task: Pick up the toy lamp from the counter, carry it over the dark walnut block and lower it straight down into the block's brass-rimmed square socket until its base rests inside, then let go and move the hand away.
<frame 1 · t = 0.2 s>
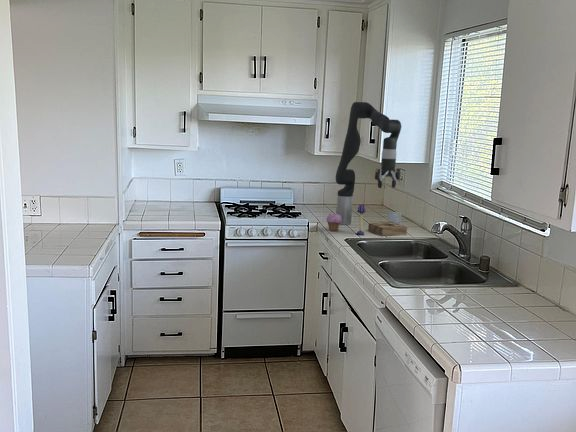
hand: (386, 187, 313), 28 cm above the worktop, tool pointing down, fingers open, 8 cm apart
socket block: (387, 232, 336), on the worktop
cupcake: (333, 230, 337), on the worktop
medicine box: (393, 227, 354), on the worktop
toy lamp: (360, 234, 329), on the worktop
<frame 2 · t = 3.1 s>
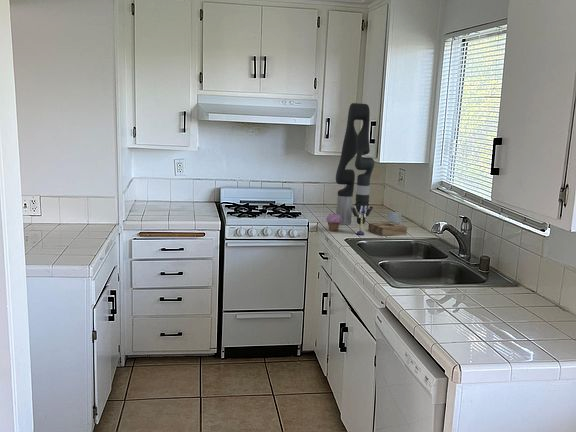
hand: (360, 223, 328), 6 cm above the worktop, tool pointing down, fingers closed on toy lamp
toy lamp: (360, 234, 329), on the worktop, touching gripper
everything else where it was.
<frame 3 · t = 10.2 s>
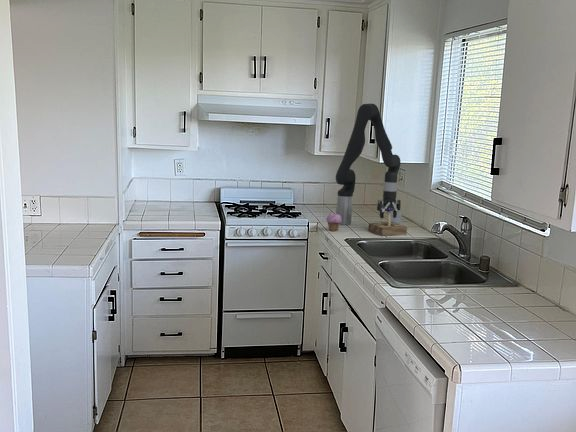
hand: (388, 217, 335), 9 cm above the worktop, tool pointing down, fingers open, 8 cm apart
toy lamp: (388, 232, 337), resting in socket block
everything else where it was.
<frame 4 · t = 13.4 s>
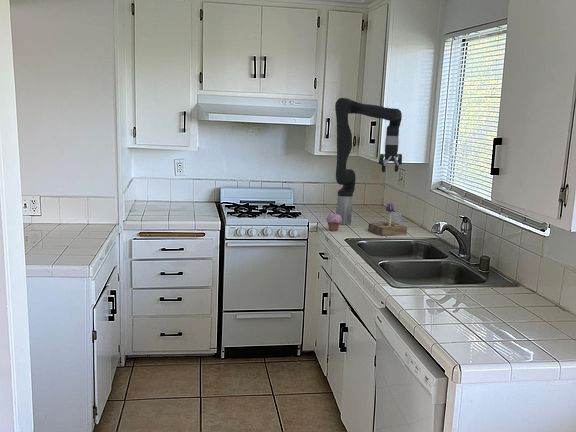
hand: (389, 171, 338), 34 cm above the worktop, tool pointing down, fingers open, 8 cm apart
nothing on the worktop moved.
at the end: toy lamp 1.4 cm off-centre on the socket block, point 0.0 cm above the socket block's base; toy lamp tilted 1°; the gripper is holding nothing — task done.
